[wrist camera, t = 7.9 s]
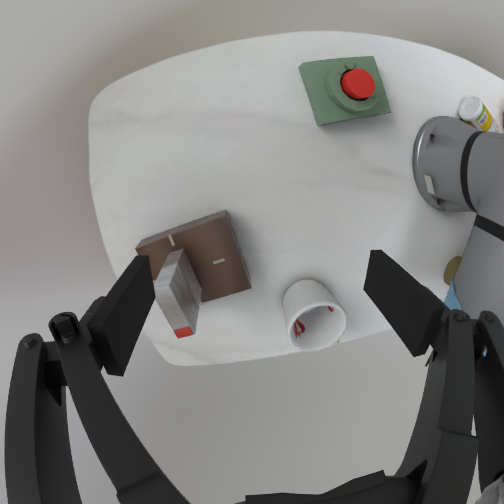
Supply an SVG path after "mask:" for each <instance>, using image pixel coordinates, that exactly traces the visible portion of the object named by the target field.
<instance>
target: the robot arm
mask: <svg viewBox="0 0 504 504" xmlns="http://www.w3.org/2000/svg"><path fill="white" fill-rule="evenodd" d="M413 171H414V177H415V181H416V184H417V187H418V189H419V191H420V193H421V195H422V196H423V198H424V199H425V200H426V201H427V202H428V203H429V204H430V205H432V206H433V207H435V208H438V209H440V210H443V211H448V212H461V211H474V212H476V213H477V215H476V219H475V222H474V225H473V228H472V231H471V234H470V238H469V241H468V244H467V246H466V249H465V252H464V255H463V258H462V260H461V263H460V265H459V268H458V270H457V273H456V275H455V276H454V277H453V278H452V280H451V286H450V289H449V291H448V294H447V296H446V299H445V301H444V303H443V302H442V301H441V300H440V299H439V298H438V297H437V296H436V295H435V294H433V292H431V291H430V290H429V289H428V288H427V287H425V286H423V285H421V284H420V283H419V282H418V281H417V280H415V279H414V278H413V277H412V276H411V275H410V274H409V273H408V272H407V271H405V270H404V269H403V268H402V267H401V266H400V265H399V264H397V263H396V262H395V261H394V260H393V259H392V258H390V257H389V256H388V255H387V254H386V253H384V252H383V251H382V250H371V252H370V258H369V264H368V269H367V274H366V279H365V284H364V289H363V290H364V291H365V292H366V293H367V295H368V296H369V297H370V298H371V300H372V301H373V302H374V304H375V305H376V306H377V308H378V309H379V310H380V311H381V313H382V314H383V315H384V317H385V318H386V319H387V321H388V322H389V323H390V325H391V326H392V328H393V329H394V330H395V332H396V333H397V334H398V336H399V337H400V338H401V340H402V341H403V343H404V344H405V345H406V347H407V348H408V350H409V351H410V352H411V354H412V355H413V357H416V356H420V355H423V354H425V353H426V351H427V349H428V347H429V345H431V346H432V348H433V351H432V353H431V355H430V357H429V359H428V361H427V363H426V365H425V366H426V367H427V365H428V364H429V368H428V373H427V378H426V383H425V388H424V392H423V397H422V401H421V405H420V409H419V413H418V416H417V420H416V423H415V427H414V430H413V433H412V436H411V439H410V442H409V445H408V448H407V451H406V454H405V457H404V460H403V462H402V464H401V466H400V468H399V469H398V471H397V472H396V474H395V475H394V476H385V474H384V471H383V470H381V471H378V472H376V473H372V474H369V475H365V476H362V477H359V478H355V479H352V480H351V481H349V482H347V483H345V484H343V485H341V486H339V487H337V488H335V489H333V490H330V491H328V492H326V493H323V494H319V495H313V494H293V493H274V494H262V495H246V496H245V497H246V501H243V502H239V503H235V504H466V503H467V499H468V495H469V491H470V487H471V484H472V479H473V475H474V470H475V464H476V458H477V453H478V471H479V483H480V489H481V494H482V496H481V497H480V498H479V499H478V500H477V501H476V502H475V504H504V134H502V133H495V132H486V131H479V130H478V129H476V128H474V127H472V126H470V125H468V124H466V123H464V122H462V121H460V120H458V119H456V118H453V117H448V116H438V117H434V118H432V119H430V120H428V121H427V122H426V123H425V124H424V125H423V126H422V128H421V129H420V131H419V133H418V135H417V138H416V141H415V145H414V150H413ZM155 297H156V295H155V290H154V284H153V279H152V273H151V267H150V261H149V255H137V256H136V257H135V258H134V259H133V261H132V262H131V263H130V265H129V266H128V267H127V268H126V270H125V271H124V272H123V274H122V275H121V276H120V278H119V279H118V280H117V282H116V283H115V285H114V286H113V287H112V289H111V290H110V291H109V293H108V295H107V296H106V297H104V296H101V297H99V298H98V299H97V300H95V301H94V302H93V303H92V305H91V306H90V307H89V309H88V310H87V311H86V314H84V316H83V317H82V318H81V320H80V321H79V322H78V319H77V317H76V315H75V314H74V313H72V312H63V313H60V314H58V315H56V316H54V317H53V318H52V319H51V320H50V322H49V328H50V331H51V333H52V335H53V337H54V340H55V341H53V342H44V341H43V339H42V337H41V336H40V334H37V333H32V334H28V335H26V336H25V337H23V339H22V340H21V341H20V343H19V345H18V349H17V353H16V357H15V362H14V367H13V372H12V377H11V383H10V389H9V395H8V403H7V412H6V424H5V477H6V488H7V497H8V504H82V502H81V498H80V494H79V490H78V486H77V481H76V477H75V472H74V467H73V461H72V455H71V449H70V441H69V434H68V423H67V410H66V390H65V389H66V386H68V387H69V390H70V393H71V396H72V399H73V401H74V404H75V407H76V409H77V412H78V414H79V417H80V419H81V422H82V424H83V426H84V429H85V431H86V433H87V436H88V438H89V440H90V442H91V444H92V446H93V448H94V450H95V452H96V454H97V456H98V458H99V460H100V462H101V464H102V466H103V467H104V469H105V471H106V472H107V474H108V476H109V478H110V479H111V481H112V483H113V485H114V486H115V488H116V490H117V498H118V500H119V502H120V503H121V504H190V502H189V501H188V500H187V499H186V498H185V497H184V496H183V495H182V494H181V493H180V492H179V490H178V489H177V488H176V487H175V486H174V485H173V483H172V482H171V481H170V480H169V479H168V478H167V476H166V475H165V474H164V473H163V471H162V470H161V469H160V467H159V466H158V465H157V464H156V462H155V461H154V460H153V458H152V457H151V456H150V454H149V453H148V451H147V450H146V448H145V447H144V446H143V444H142V443H141V441H140V440H139V438H138V437H137V436H136V434H135V432H134V431H133V429H132V428H131V426H130V424H129V423H128V421H127V420H126V418H125V416H124V415H123V413H122V411H121V410H120V408H119V406H118V404H117V403H116V401H115V399H114V397H113V395H112V394H111V392H110V390H109V388H108V386H107V384H106V382H105V380H104V378H103V376H102V374H101V370H102V367H103V365H104V368H105V369H106V372H107V374H109V375H116V376H123V375H124V372H125V369H126V367H127V365H128V362H129V359H130V357H131V354H132V352H133V349H134V347H135V344H136V342H137V339H138V337H139V334H140V332H141V330H142V327H143V325H144V323H145V320H146V318H147V316H148V313H149V311H150V309H151V306H152V304H153V302H154V300H155ZM473 415H474V421H475V430H476V436H472V435H471V430H472V420H473Z"/></svg>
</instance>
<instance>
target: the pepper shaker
mask: <svg viewBox="0 0 504 504" xmlns="http://www.w3.org/2000/svg"><path fill="white" fill-rule="evenodd" d="M461 260H462V257H460V256H457V257H455V258H453V259H452V260H451V261H450V262H449V264H448V265H447V267H446V269H445V272H444V281H445V283H446V284H448V285H450V286H451V280H452V278H453V277H454V276H455V275H456V273H457V270H458V268H459V265H460V263H461Z"/></svg>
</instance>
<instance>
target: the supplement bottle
mask: <svg viewBox="0 0 504 504" xmlns="http://www.w3.org/2000/svg"><path fill="white" fill-rule="evenodd" d="M458 112H459V116H460V117H461V118H462V120H463V121H464V122H465V123H466V124H468V125H470V126H472V127H474V128H476V129H478V130H479V131H486V132H495V133H500V130H499V127H498V125H497V123H496V122H495V120H494V119H493V117H492V116H491V114H490V113H489V111H488V110H487V109H486V107H485V106H484V104H483V103H482V102H481V100H480V99H479V98H478V97H475V96H470V97H467V98H466V99H464V100H463V101H462V102H461V104H460V106H459V110H458Z"/></svg>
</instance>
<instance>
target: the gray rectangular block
mask: <svg viewBox="0 0 504 504" xmlns="http://www.w3.org/2000/svg"><path fill="white" fill-rule="evenodd" d="M154 290H155V295H156V297H155V299H156V301H157V303H158V305H159V307H160V308H161V310H162V312H163V314H164V316H165V317H166V319H167V321H168V322H169V324H170V326H171V328H172V329H173V331H174V333H175V334H176V336H177V338H182V337H186V336H190V335H194V334H195V332H196V325H197V318H198V311H199V304H200V298H201V291H202V288H201V286H200V284H199V282H198V280H197V277H196V275H195V273H194V271H193V268H192V266H191V264H190V262H189V259H188V257H187V255H186V253H185V250H184V248H183V249H180V250H177V251H174V252H171V253H169V255H168V257H167V259H166V261H165V263H164V265H163V267H162V269H161V271H160V273H159V275H158V277H157V279H156V281H155V284H154Z"/></svg>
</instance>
